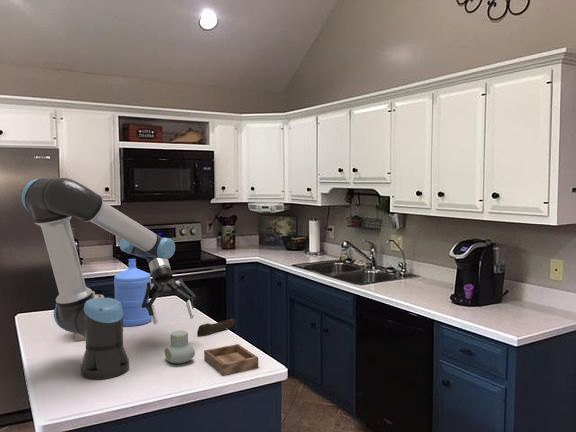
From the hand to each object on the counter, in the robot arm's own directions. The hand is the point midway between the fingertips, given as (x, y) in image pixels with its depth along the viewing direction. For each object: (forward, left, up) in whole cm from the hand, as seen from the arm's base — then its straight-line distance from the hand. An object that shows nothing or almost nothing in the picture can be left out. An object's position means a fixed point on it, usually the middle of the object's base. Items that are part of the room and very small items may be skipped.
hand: (174, 319), depth 180 cm
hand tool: (+23, +15, -13) cm, 30 cm away
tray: (+13, -21, -12) cm, 27 cm away
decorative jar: (-23, +37, -12) cm, 46 cm away
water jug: (-3, +48, -12) cm, 50 cm away
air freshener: (-1, -9, -12) cm, 15 cm away
